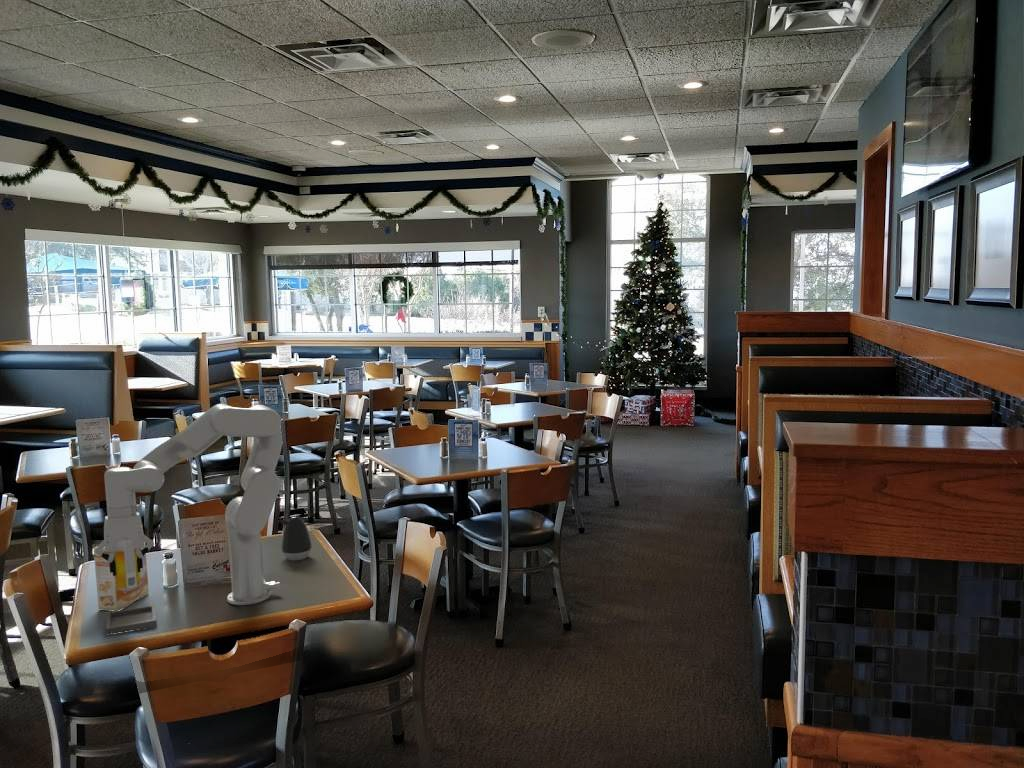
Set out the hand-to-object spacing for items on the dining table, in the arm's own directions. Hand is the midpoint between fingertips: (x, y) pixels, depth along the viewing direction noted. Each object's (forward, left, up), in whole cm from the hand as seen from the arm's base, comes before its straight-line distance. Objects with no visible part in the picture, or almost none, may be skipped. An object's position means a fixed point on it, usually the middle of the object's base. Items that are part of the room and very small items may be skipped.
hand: (126, 572), depth 243 cm
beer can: (0, 0, -5) cm, 5 cm away
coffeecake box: (+2, -19, -15) cm, 25 cm away
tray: (0, 0, -15) cm, 15 cm away
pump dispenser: (-53, -35, -15) cm, 65 cm away
